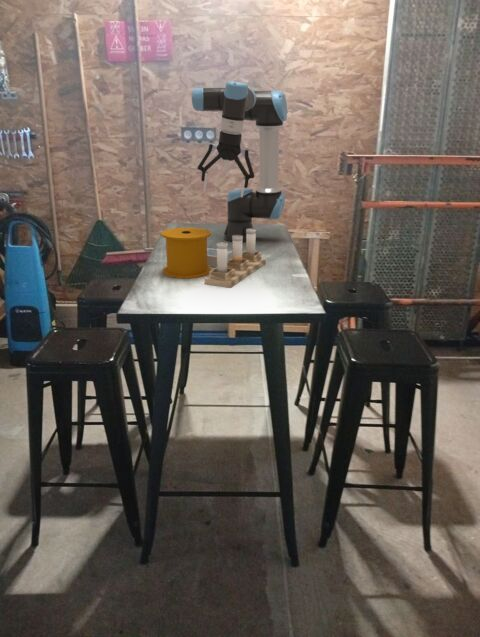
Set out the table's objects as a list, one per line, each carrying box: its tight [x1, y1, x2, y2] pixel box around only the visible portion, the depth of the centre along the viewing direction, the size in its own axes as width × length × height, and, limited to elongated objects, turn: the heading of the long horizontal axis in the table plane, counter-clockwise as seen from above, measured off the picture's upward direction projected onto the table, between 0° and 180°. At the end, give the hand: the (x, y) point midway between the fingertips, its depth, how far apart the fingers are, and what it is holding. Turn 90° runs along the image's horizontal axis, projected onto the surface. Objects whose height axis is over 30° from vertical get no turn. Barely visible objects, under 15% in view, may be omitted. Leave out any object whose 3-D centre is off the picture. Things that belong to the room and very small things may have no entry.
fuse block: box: [204, 250, 267, 288], centre depth 180 cm, size 34×10×4 cm, turn 156°
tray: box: [207, 247, 233, 268], centre depth 193 cm, size 11×11×4 cm
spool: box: [161, 227, 212, 279], centre depth 179 cm, size 18×18×15 cm
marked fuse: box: [232, 235, 243, 264], centre depth 178 cm, size 4×4×12 cm
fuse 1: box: [216, 241, 229, 273], centre depth 167 cm, size 4×4×12 cm
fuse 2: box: [245, 227, 257, 256], centre depth 189 cm, size 4×4×12 cm
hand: (223, 193), depth 175 cm, fingers open, 13 cm apart
